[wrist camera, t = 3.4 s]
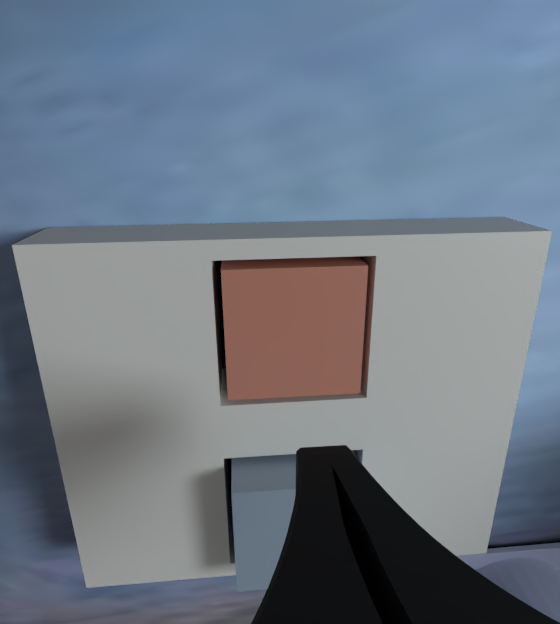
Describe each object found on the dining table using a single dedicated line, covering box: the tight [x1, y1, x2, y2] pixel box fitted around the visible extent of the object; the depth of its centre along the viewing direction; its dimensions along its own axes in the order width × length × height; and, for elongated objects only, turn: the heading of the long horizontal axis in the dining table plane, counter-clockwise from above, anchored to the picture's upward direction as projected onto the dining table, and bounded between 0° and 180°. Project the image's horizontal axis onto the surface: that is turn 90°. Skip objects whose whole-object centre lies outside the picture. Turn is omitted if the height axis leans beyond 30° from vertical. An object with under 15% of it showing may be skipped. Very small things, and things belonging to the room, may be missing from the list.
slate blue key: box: [231, 450, 355, 592], centre depth 19 cm, size 5×5×3 cm
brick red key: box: [221, 256, 368, 400], centre depth 18 cm, size 5×5×3 cm
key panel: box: [12, 217, 552, 588], centre depth 19 cm, size 15×18×3 cm
